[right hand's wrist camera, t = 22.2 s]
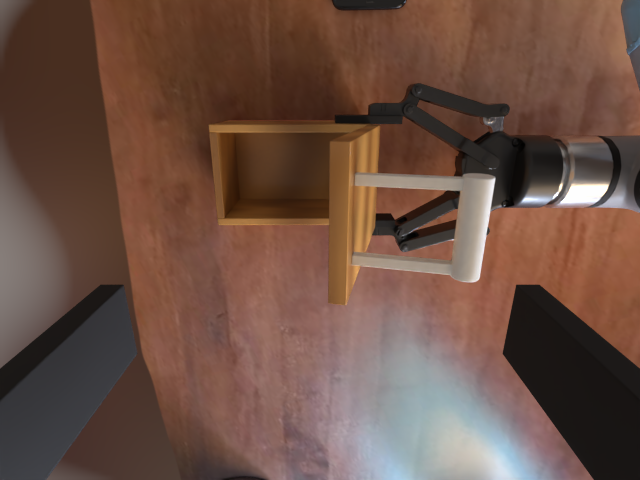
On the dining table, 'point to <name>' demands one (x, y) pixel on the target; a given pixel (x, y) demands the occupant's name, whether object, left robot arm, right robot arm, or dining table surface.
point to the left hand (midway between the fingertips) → (334, 172)
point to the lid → (360, 211)
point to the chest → (273, 170)
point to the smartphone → (368, 4)
